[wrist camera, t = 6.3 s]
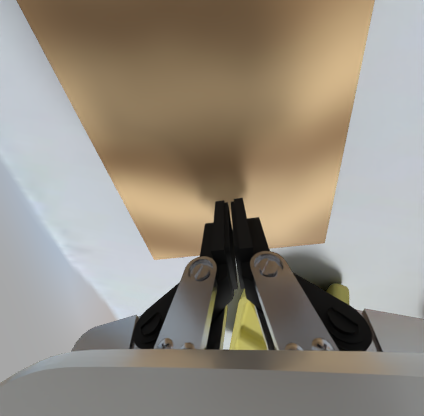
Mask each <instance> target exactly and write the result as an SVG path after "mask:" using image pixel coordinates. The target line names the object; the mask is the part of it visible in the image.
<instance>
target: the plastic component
mask: <svg viewBox="0 0 424 416" xmlns="http://www.w3.org/2000/svg"><path fill="white" fill-rule="evenodd" d="M326 292H327V293H329V294H331V295H333V296H334V297H336V298H338V299H340V300H341V301H343V302H345V303H347V304H348V305H349V290H348V288H347V287H346V286H343V285H340V284H337V283H335V284H332V285H330V287H329V288H328V289H327V291H326ZM229 350H267V347H266V344H265V340H264V337H263V334H262V330H261V327H260V324H259V320H258V317H257V314H256V310H255V306H254V304H252V303H251V302H250V301H249V300H248V299H247V298H246V294H245V289H244V290H243V293H242V295H241V297H240V300H239V303H238V308H237V313H236V318H235V323H234V328H233V333H232V338H231V343H230V349H229Z"/></svg>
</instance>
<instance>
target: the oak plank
mask: <svg viewBox="0 0 424 416" xmlns="http://www.w3.org/2000/svg"><path fill="white" fill-rule="evenodd" d="M374 1H375V0H17V2H18V4H19V6H20V8H21V10H22V12H23V14H24V15H25V17H26V19H27V21H28V23H29V25H30V27H31V29H32V30H33V32H34V34H35V36H36V38H37V40H38V42H39V44H40V46H41V47H42V49H43V51H44V53H45V55H46V57H47V59H48V61H49V63H50V64H51V66H52V68H53V70H54V72H55V74H56V76H57V78H58V79H59V81H60V83H61V85H62V87H63V89H64V91H65V93H66V95H67V96H68V98H69V100H70V102H71V104H72V106H73V108H74V110H75V112H76V113H77V115H78V117H79V119H80V121H81V123H82V125H83V127H84V128H85V130H86V132H87V134H88V136H89V138H90V140H91V142H92V144H93V145H94V147H95V149H96V151H97V153H98V155H99V157H100V159H101V160H102V162H103V164H104V166H105V168H106V170H107V172H108V174H109V176H110V177H111V179H112V181H113V183H114V185H115V187H116V189H117V191H118V193H119V194H120V196H121V198H122V200H123V202H124V204H125V206H126V208H127V209H128V211H129V213H130V215H131V217H132V219H133V221H134V223H135V225H136V226H137V228H138V230H139V232H140V234H141V236H142V238H143V240H144V242H145V243H146V245H147V247H148V249H149V251H150V253H151V255H152V257H153V258H154V260H158V259H168V258H178V257H188V256H199V255H200V252H201V245H202V239H203V233H204V226H205V224H206V223H213V222H214V211H215V201H222V200H224V201H225V202H228V205H229V211H230V217H231V223H232V215H231V202H232V201H234V199H237V198H243V201H244V206H245V211H246V216H247V218H255V217H259V219H260V222H261V225H262V228H263V231H264V234H265V237H266V241H267V244H268V247H269V249H270V248H280V247H290V246H300V245H310V244H320V243H325V239H326V234H327V229H328V224H329V219H330V214H331V210H332V205H333V200H334V195H335V190H336V185H337V181H338V176H339V171H340V166H341V161H342V156H343V151H344V147H345V142H346V137H347V132H348V127H349V122H350V118H351V113H352V108H353V103H354V98H355V93H356V88H357V84H358V79H359V74H360V69H361V64H362V59H363V55H364V50H365V45H366V40H367V35H368V30H369V25H370V21H371V16H372V11H373V6H374ZM232 230H233V228H232Z"/></svg>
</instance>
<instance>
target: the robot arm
mask: <svg viewBox="0 0 424 416" xmlns="http://www.w3.org/2000/svg"><path fill="white" fill-rule="evenodd" d="M231 215H232V223H231V217H230V211H229V205H228V202H225V201H224V200H222V201H215V211H214V222H213V223H206V224H205V226H204V233H203V239H202V245H201V252H200V257H197V258H195V259H193V260H192V261H190V262H189V264H188V265H187V266H186V268H185V270H184V273H183V276H182V278H181V281H180V282H179V283H178V284H177V285H176V286H175V287H174V288H172V289H171V290H170V291H169V292H168V293H166V294H165V295H164V296H163V297H162V298H160V299H159V300H158V301H157V302H156V303H155V304H153V305H152V306H151V307H150V308H149V309H147V310H146V311H145V312H144V313H143V314H142V315H141V316H139V317H138V316H137V315H134V316H131V317H127V318H124V319H121V320H117V321H114V322H111V323H107V324H104V325H100V326H97V327H94V328H92V329H90V330H88V331H87V332H86V333H84V334H83V335H82V336H81V338H79V340H78V341H77V342H76V344H75V345H74V347H73V349H72V351H71V352H68V353H64V354H59V355H56V356H52V357H49V358H47V359H44V360H42V361H39V362H37V363H35V364H33V365H31V366H29V367H27V368H25V369H23V370H21V371H19V372H18V373H16V374H14V375H12V376H11V377H9V378H7V379H6V380H4V381H3V382H1V383H0V416H424V319H420V318H414V317H409V316H403V315H398V314H392V313H386V312H381V311H375V310H370V309H364V310H363V311H360V310H355V309H354V308H353V307H351V306H350V305H348V304H347V303H345V302H343V301H341V300H340V299H338V298H336V297H334V296H333V295H331V294H329V293H327V292H326V291H324V290H322V289H320V288H319V287H317V286H315V285H313V284H312V283H310V282H308V281H307V280H305V279H303V278H301V277H300V276H298V275H296V274H294V273H293V272H292V271H291V269H290V267H289V266H288V264H287V262H286V261H285V260H284V258H283V257H282V256H280V255H279V254H277V253H274V252H271V251H270V250H269V247H268V244H267V241H266V237H265V234H264V231H263V228H262V225H261V222H260V219H259V217H255V218H247V216H246V211H245V206H244V201H243V198H237V199H234V201H232V202H231ZM232 228H233V230H232ZM235 258H236V260H235ZM236 263H237V269H238V275H239V281H240V286H241V289H245V294H246V298H247V299H248V300H249V301H250V302H251V303H252V304H254V306H255V310H256V314H257V317H258V320H259V324H260V327H261V330H262V334H263V337H264V340H265V344H266V347H267V350H223V342H224V334H225V325H226V317H227V304H228V303H229V302H230V301H231V300H232V299H233V296H234V289H238V286H237V273H236Z"/></svg>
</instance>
